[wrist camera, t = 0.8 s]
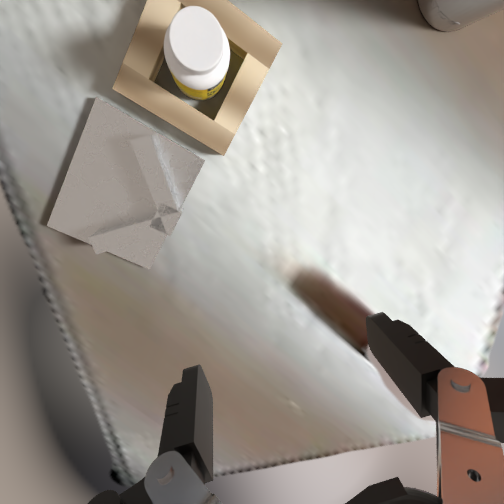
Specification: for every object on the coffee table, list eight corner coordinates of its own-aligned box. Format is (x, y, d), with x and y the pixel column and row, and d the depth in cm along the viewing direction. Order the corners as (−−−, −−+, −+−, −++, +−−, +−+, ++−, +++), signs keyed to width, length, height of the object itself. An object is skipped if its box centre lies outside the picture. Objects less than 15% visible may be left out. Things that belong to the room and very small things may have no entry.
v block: (99, 98, 29) (86, 92, 25) (207, 161, 32) (207, 163, 29) (51, 223, 32) (34, 232, 29) (153, 267, 36) (148, 279, 33)
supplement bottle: (211, 111, 31) (213, 97, 22) (164, 83, 29) (144, 54, 20) (233, 61, 29) (246, 23, 20) (185, 29, 28) (175, -28, 19)
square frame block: (170, -32, 26) (166, -49, 24) (276, 51, 30) (282, 43, 27) (119, 93, 29) (112, 88, 26) (222, 155, 32) (223, 155, 30)
